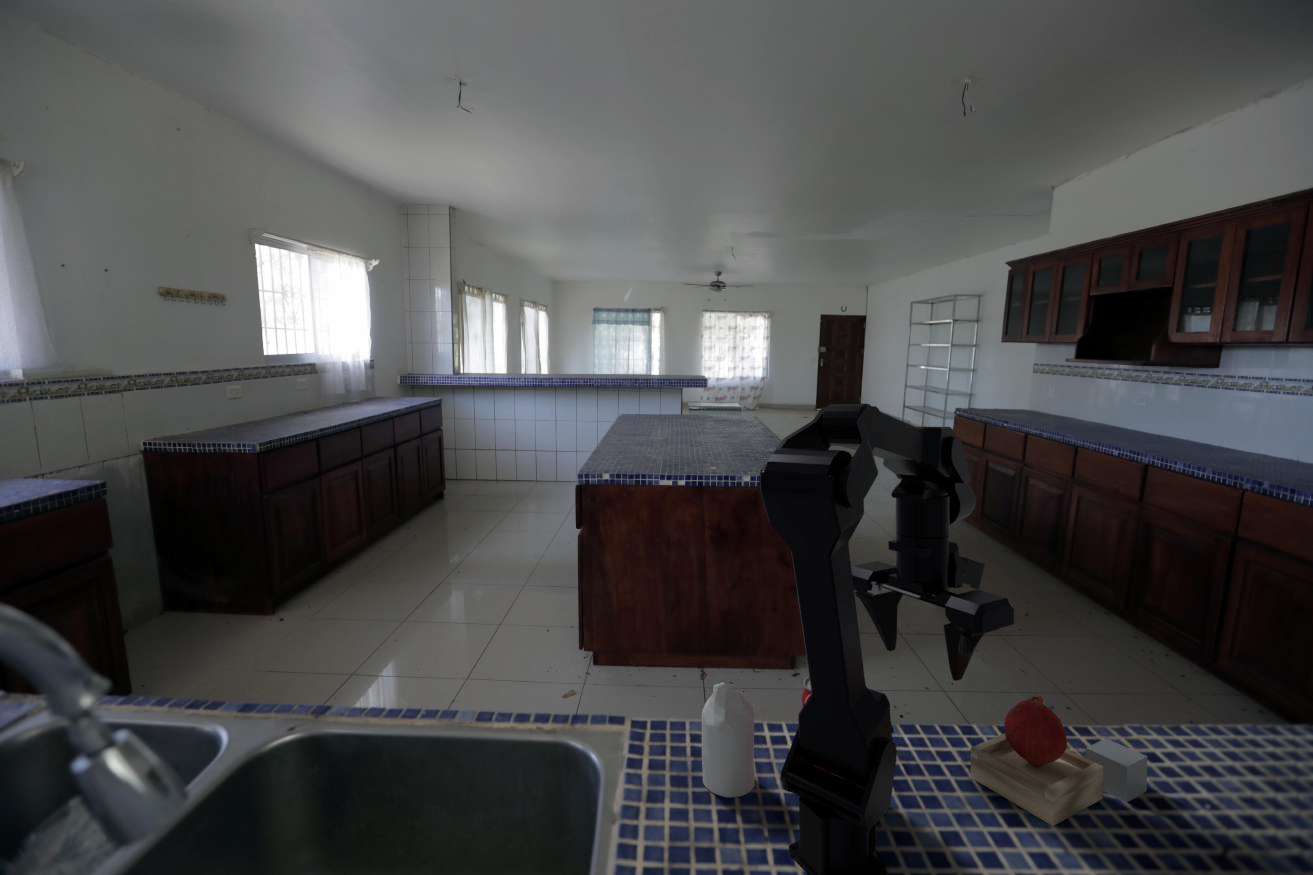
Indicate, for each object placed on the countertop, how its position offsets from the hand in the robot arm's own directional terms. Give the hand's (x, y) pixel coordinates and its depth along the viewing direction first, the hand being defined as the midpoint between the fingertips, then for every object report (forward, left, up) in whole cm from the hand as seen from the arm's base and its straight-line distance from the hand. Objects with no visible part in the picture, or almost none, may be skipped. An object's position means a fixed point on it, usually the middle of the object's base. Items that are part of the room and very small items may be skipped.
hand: (922, 664), depth 70 cm
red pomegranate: (+7, -9, -10) cm, 15 cm away
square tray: (+7, -9, -12) cm, 17 cm away
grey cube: (+15, -13, -12) cm, 23 cm away
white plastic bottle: (-22, +8, -12) cm, 27 cm away
